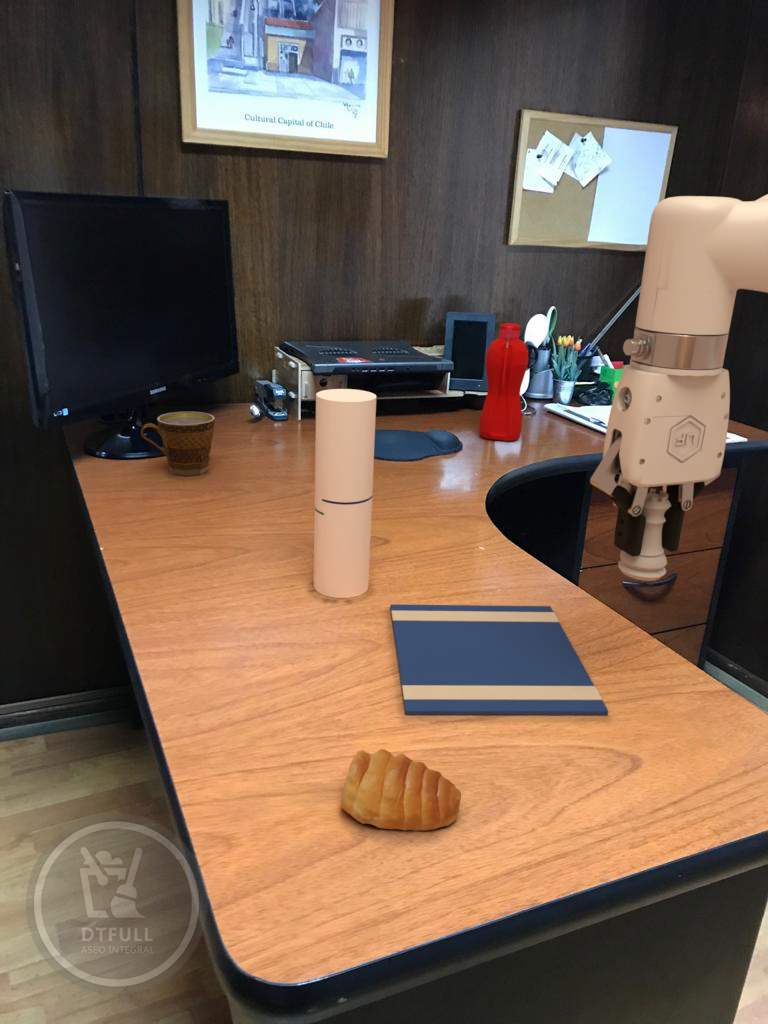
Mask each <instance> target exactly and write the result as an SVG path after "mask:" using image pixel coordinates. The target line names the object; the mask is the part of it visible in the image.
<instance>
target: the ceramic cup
mask: <svg viewBox="0 0 768 1024" xmlns="http://www.w3.org/2000/svg"><path fill="white" fill-rule="evenodd" d="M156 421H157V424H154V423H152V422H151V423H150V422H149V423H145V424H144V425H143V426H142V427H141V429H140V435H141V437H142V438H143V439H144V440H145V441H147V442H148V443H149V444H152V445H153V446H155V447H156V448H157V449H158V450H159V451H161V452H162V454H163V455H164V456H165V457H166V460H167V465H168V468H169V472H170V473H171V475H173V476H179V477H184V478H187V477H196V476H201V475H203V474H205V473H207V472H208V470H209V464H210V458H211V457H210V456H211V451H212V441H213V437H214V431H215V421H216V418H215V416H214V415H212V414H210V413H207V412H203V411H202V412H201V411H189V410H188V411H174V412H168V413H164V414H163V413H162V414H160V415H159V416H157V418H156ZM147 428H152V429H154V430H155V431H156V432H157V433H158V434H159V436H160V437H161V440H162V444H163V446H160V445H158V444H157V443H156V442H154V441H153V440H151V439H150V438H148V437H146V436H145V434H144V430H145V429H147Z"/></svg>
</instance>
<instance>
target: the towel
mask: <svg viewBox="0 0 768 1024" xmlns="http://www.w3.org/2000/svg"><path fill="white" fill-rule="evenodd" d="M389 609H390V615H391V623H392V629H393V630H392V631H393V636H394V644H395V651H396V657H397V664H398V665H397V666H398V672H399V679H400V686H401V694H402V700H403V707H404V714H405V715H406V716H608V715H609V710H608V708H607V706H606V704H605V702H604V701H603V700H604V699H603V696H602V695H601V693H600V691H599V690H598V688H597V686H596V685H595V684H594V682H593V681H592V679H591V677H590V675H589V673H588V672H587V670H586V668H585V666H584V665H583V663H582V661H581V659H580V657H579V655H578V653H577V652H576V650H575V648H574V647H573V644H572V643H571V641H570V639H569V637H568V636H567V633H566V632H565V630H564V628H563V626H562V625H561V622H560V620H559V618H558V616H557V615H556V612H554V610H553V608H552V607H551V605H485V604H484V605H483V604H481V605H479V604H477V605H476V604H475V605H474V604H473V605H472V604H471V605H469V604H392V603H391V604H390V608H389ZM405 715H404V716H405Z"/></svg>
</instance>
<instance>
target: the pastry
mask: <svg viewBox="0 0 768 1024" xmlns="http://www.w3.org/2000/svg"><path fill="white" fill-rule="evenodd" d="M348 768H349V769H348V774H347V775H346V780H345V783H344V787H343V791H342V794H341V795H342V796H341V799H340V801H339V804H340V807H341V808H342V810H344V811H345V812H346V813H347V814H348V815H350V816H351V817H352V818H353V819H355V820H356V821H357V822H359V823H361V824H362V825H365V824H368V825H373V826H374V827H376V828H378V829H385V830H386V829H387V830H401V831H404V832H406V831H413V832H416V831H420V832H421V831H423V832H425V831H432V830H436V829H439V828H443V827H449V826H450V825H451V824H452V823H454V822H455V821H456V820H457V818H458V815H459V811H460V804H461V799H462V792H461V791H460V789H459V788H457V787H456V785H455V784H454V783H453V782H452V781H451V780H449V779H448V778H446V777H444V776H443V775H442V773H441V772H440V771H438V770H434V769H430V768H429V767H428V766H427V765H426V764H425V763H424V762H422V761H414V760H413V759H411V758H410V757H408V756H407V755H405V754H404V753H399V754H397V755H393V754H392V753H391V752H389V750H386V749H383V748H381V749H379V750H377V751H376V752H374V753H369V752H367V751H365V750H363V749H360V750H358V751H357V752H356V754H355V755H354V757H353V759H352V760H351V763H350V764H349V767H348Z"/></svg>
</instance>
